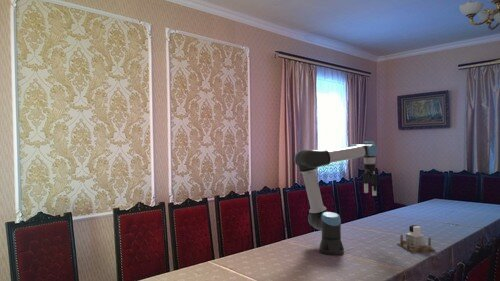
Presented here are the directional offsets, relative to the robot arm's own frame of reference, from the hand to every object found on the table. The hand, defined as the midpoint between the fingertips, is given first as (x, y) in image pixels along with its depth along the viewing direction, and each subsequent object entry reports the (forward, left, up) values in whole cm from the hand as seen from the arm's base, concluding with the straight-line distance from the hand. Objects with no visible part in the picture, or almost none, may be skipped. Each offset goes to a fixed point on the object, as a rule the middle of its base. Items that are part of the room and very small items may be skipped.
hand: (370, 194), depth 239 cm
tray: (+20, -21, -32) cm, 43 cm away
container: (+20, -21, -31) cm, 42 cm away
